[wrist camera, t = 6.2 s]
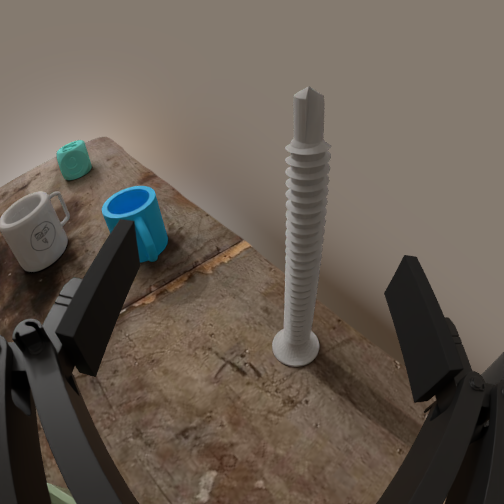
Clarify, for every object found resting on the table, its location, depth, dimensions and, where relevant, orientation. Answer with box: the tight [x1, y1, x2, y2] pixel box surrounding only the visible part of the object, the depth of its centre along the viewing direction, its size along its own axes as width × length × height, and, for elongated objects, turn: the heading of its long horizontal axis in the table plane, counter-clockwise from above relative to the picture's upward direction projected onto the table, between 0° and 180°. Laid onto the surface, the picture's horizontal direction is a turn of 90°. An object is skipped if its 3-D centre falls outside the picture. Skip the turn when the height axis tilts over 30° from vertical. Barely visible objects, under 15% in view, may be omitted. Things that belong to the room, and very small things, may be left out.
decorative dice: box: [57, 140, 92, 180], centre depth 68 cm, size 8×8×8 cm
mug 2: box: [102, 186, 168, 263], centre depth 42 cm, size 12×8×8 cm
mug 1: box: [0, 191, 70, 272], centre depth 44 cm, size 14×11×10 cm
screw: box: [272, 87, 331, 367], centre depth 23 cm, size 5×26×5 cm
